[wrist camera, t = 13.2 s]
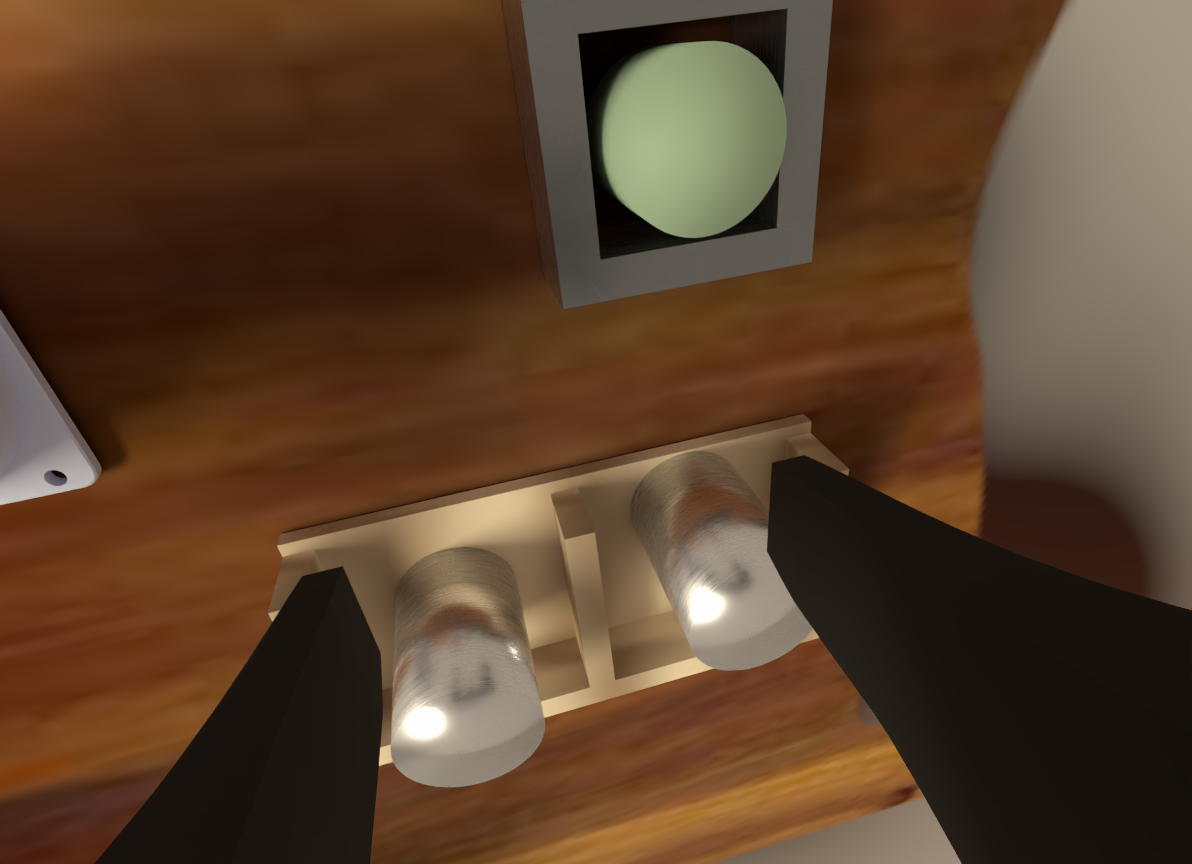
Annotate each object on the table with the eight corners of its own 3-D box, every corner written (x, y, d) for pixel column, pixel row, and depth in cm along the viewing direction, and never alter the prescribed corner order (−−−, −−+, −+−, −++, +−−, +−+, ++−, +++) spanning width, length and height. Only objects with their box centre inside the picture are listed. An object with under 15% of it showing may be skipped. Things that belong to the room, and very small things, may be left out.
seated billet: (413, 648, 24) (413, 803, 19) (380, 564, 22) (370, 716, 17) (526, 618, 25) (554, 760, 20) (506, 534, 22) (532, 671, 17)
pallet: (361, 700, 26) (356, 772, 23) (280, 534, 21) (261, 601, 18) (788, 583, 28) (826, 635, 26) (803, 413, 24) (850, 457, 21)
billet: (645, 561, 25) (703, 689, 20) (617, 478, 22) (675, 599, 17) (747, 520, 25) (831, 636, 20) (730, 433, 23) (820, 540, 18)
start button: (593, 221, 17) (625, 250, 15) (575, 54, 15) (609, 53, 13) (727, 199, 18) (781, 223, 15) (728, 34, 16) (792, 29, 13)
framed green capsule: (543, 275, 19) (563, 309, 16) (499, -11, 15) (517, -26, 12) (761, 236, 20) (811, 262, 17) (771, -41, 16) (837, -59, 13)
